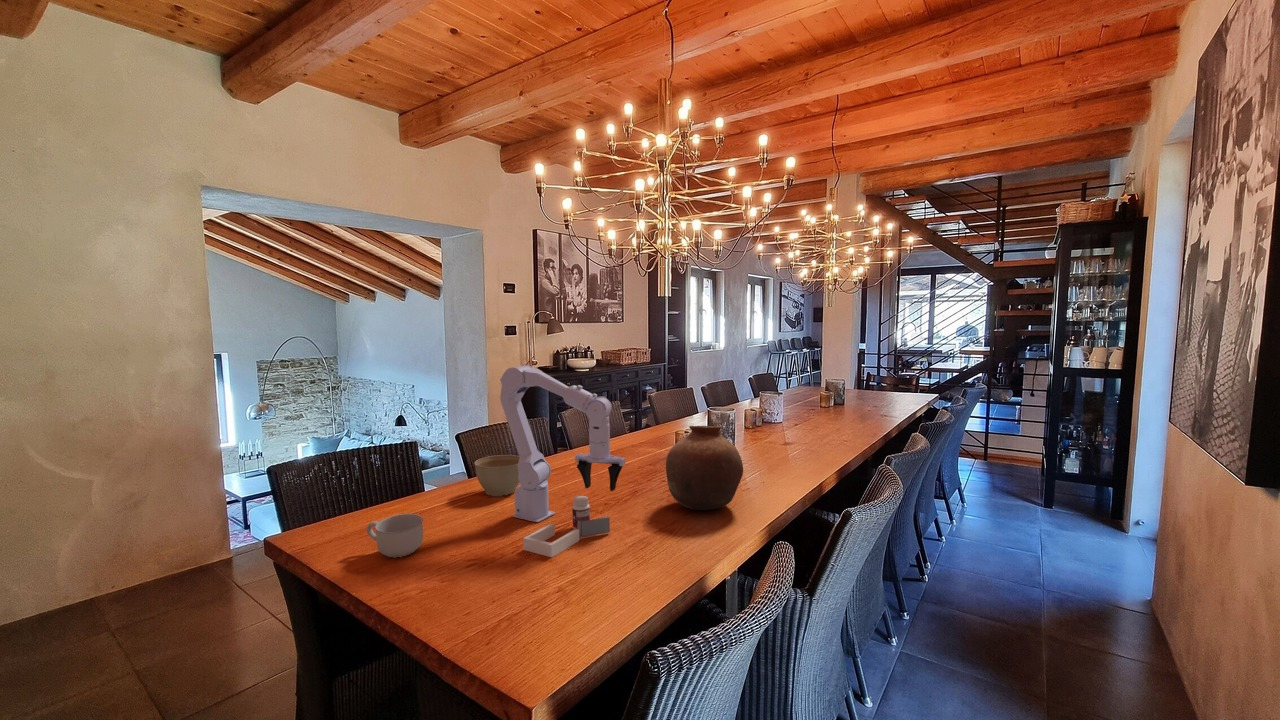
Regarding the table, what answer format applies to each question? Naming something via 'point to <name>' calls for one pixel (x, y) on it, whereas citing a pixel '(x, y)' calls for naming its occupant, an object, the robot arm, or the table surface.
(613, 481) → the robot arm
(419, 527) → the teacup
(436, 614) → the table surface
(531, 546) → the channel
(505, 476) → the planter bowl
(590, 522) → the channel cover
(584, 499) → the pill bottle
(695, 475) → the pottery
